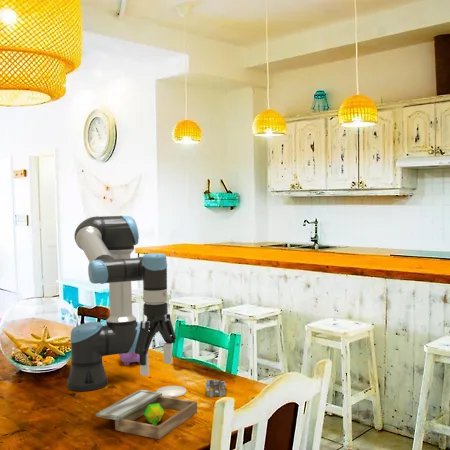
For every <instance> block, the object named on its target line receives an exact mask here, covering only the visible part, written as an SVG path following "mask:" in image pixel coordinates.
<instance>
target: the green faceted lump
mask: <svg viewBox="0 0 450 450" xmlns="http://www.w3.org/2000/svg"><path fill="white" fill-rule="evenodd" d="M164 414H165V410H164V408H163V407H161V406H160V404H159V403H156V404H150V405H148V406H147V408H146V410H145V413H144V415H143V416H144V417H145V419H146V421H147V422H148V424H151V425H156V426H158V425H159V422H161V420H162V418H163V417H164Z"/></svg>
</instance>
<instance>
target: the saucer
mask: <svg viewBox="0 0 450 450" xmlns="http://www.w3.org/2000/svg"><path fill="white" fill-rule="evenodd" d="M155 392H159V393H162V396H165V397H171V398H177V397H178V398H179V397H181V396H184V395H186V393H187V389H186V388H185V387H184V386H180V385H167V386H166V385H165V386H161V387H159V388H158V389H156V391H155Z"/></svg>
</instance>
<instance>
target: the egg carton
mask: <svg viewBox="0 0 450 450" xmlns="http://www.w3.org/2000/svg"><path fill="white" fill-rule="evenodd" d="M226 387H227V383H226V381H225V380H222V381H221V380H220V379H209V378H207V379H206V382H205V387H204V388H205V389H206V396H207V397H210V398H213V397H219V398H221V397H222V398H223V397H224V396H226V391H227V390H226ZM211 388H212V390H211Z"/></svg>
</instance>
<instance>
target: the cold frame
mask: <svg viewBox="0 0 450 450" xmlns="http://www.w3.org/2000/svg"><path fill="white" fill-rule="evenodd" d="M156 403H159V404H160V406H161V407H162V409H171V410H176V411H178V412H176V413H175V414H173V415H172V416H171V417H169V418H167V419H165V420H164V421H163V422H162V423H160V424H158V425H152V423H144V422H141V421H140V422H139V421H136V420H138V419H140V418H141V417H142V416H144V413H145V410H146V408H147V406H148V405H150V404H156ZM196 413H198V402H197V401H194V400H188V399H182V398H177V397H172V398H171V397H165V396H162V393H159V392H156V391H151V390H147V389H138V390H136V391H135V392H133V393H131V394H129V395H127V396H126V397H123V398H122V399H120V400H118V401H116V402H114V403H112V404H111V405H109V406H107V407H105V408H103V409H101V410H99V411H98V412H96V413H95V417H99V418H103V419H108V420H109V419H110V420H114V430H115V431H118V432H122V433H126V434H131V435H136V436H141V437H146V438H151V439H155V440H161V439H163V438H164V437H165V436H167V434H169V433H171V432H172V431H173V430H175V429H176V428H178V427H179V426H180V425H181V424H183V423H184V422H186V421H187V420H189V419H190V418H191V417H193V416H194V415H195V414H196Z"/></svg>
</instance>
